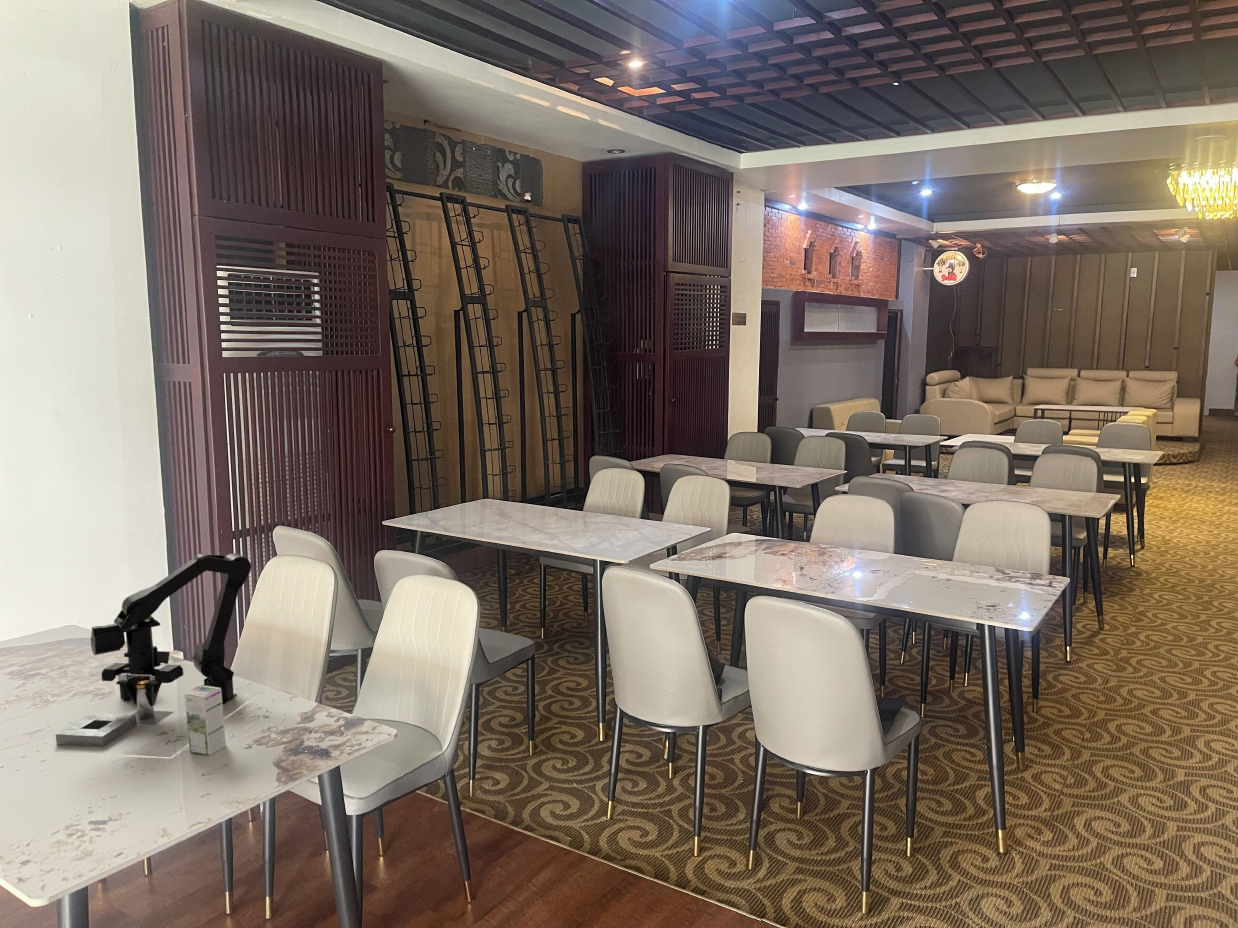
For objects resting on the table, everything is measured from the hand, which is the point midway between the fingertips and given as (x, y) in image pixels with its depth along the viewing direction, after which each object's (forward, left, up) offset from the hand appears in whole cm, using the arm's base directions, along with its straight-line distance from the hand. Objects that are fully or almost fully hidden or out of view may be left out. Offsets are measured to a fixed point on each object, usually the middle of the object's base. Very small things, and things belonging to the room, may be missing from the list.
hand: (145, 705), depth 227 cm
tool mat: (0, 0, -4) cm, 4 cm away
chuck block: (+5, +11, -4) cm, 13 cm away
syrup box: (-26, +15, -4) cm, 30 cm away
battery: (+12, -13, -4) cm, 18 cm away
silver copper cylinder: (0, 0, -3) cm, 3 cm away
